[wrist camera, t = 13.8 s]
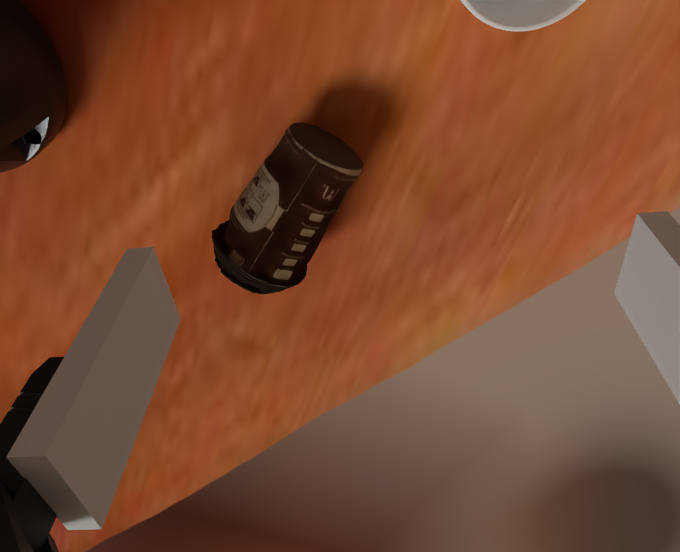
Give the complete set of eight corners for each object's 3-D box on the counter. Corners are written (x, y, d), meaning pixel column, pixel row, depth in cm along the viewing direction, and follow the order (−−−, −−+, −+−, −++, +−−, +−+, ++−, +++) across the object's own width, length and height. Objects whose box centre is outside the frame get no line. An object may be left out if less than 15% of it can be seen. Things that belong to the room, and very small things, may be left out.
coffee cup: (276, 97, 42) (210, 222, 48) (270, 134, 35) (194, 275, 41) (369, 150, 45) (295, 262, 51) (380, 194, 38) (293, 317, 44)
